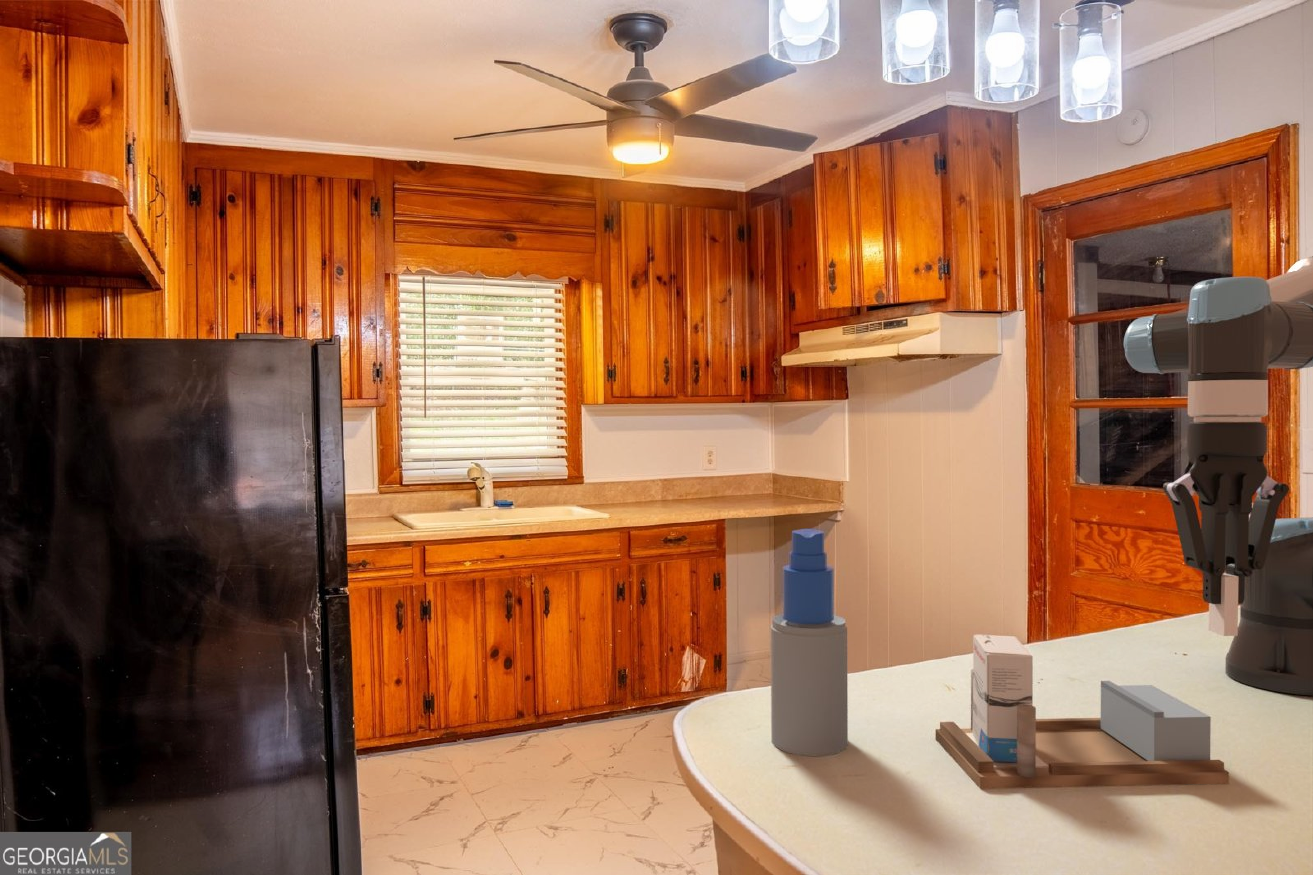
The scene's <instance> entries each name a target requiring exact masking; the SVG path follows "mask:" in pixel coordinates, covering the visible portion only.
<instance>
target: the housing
mask: <svg viewBox="0 0 1313 875" xmlns="http://www.w3.org/2000/svg"><path fill="white" fill-rule="evenodd" d="M1100 718H1101V729H1103V730H1104V731H1105V732H1107V733H1108V734H1110V735H1111V736H1113V737H1114V738H1116V739H1117V740H1119V741H1120V742H1121V743H1123V744H1124V745H1126V746H1127V747H1129V748H1130V749H1132V750H1133V751H1135V752H1136V753H1137V754H1139V755H1140V756H1142V757H1143V758H1145V759H1146V760H1148V761H1176V760H1211V729H1212V728H1211V724H1212V722H1211V721H1212V720H1211V718H1212V717H1211V716H1210V715H1208V714H1207V713H1205V712H1202V711H1201V710H1199V709H1197V708H1195V707H1193V706H1191V705H1189V704H1188V703H1186V702H1184V701H1182V700H1180V699H1178V698H1177V697H1175V696H1172V695H1171V694H1169V693H1167V692H1165V691H1163V690H1162V689H1160V688H1157V687H1156V686H1154V685H1153V684H1133V685H1130V684H1129V685H1125V684H1124V685H1118V684H1115V683H1114V682H1112V681H1110V680H1100Z"/></svg>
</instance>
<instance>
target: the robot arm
mask: <svg viewBox="0 0 1313 875" xmlns="http://www.w3.org/2000/svg"><path fill="white" fill-rule="evenodd" d="M1123 348H1124V353H1125V354H1124V355H1125V359H1126V360H1127V362H1128V364H1129V366H1131V368H1133V369H1134V370H1135V371H1137V372H1140V373H1142V374H1143V373H1144V374H1147V373H1148V374H1160V375H1165V374H1169V373H1185V372H1187V373H1188V375H1187V381H1188V382H1187V415H1188V417H1190V418H1191V417H1192V418H1193V421H1191V422H1188V424H1186V453H1187V456H1188V462H1187V463H1186V465H1185V467H1184V470H1183V475H1182V476H1181V477H1179V478H1178V479H1176V480H1175V481H1173V482H1172V481H1171V482H1169V481H1167V482H1165V483H1163V486H1162V491H1163V492H1164V494H1165V495H1166V497H1167V498H1168V500H1169V501H1170V503H1171V507H1172V512H1173V516H1174V520H1175V525H1176V529H1177V534H1178V537H1179V542H1180V546H1181V547H1180V548H1181V551H1182V555H1183V559H1184V563H1185V565H1186V566H1187V567H1190V568H1193V569H1196V570H1198V571H1199V572H1201V573H1202V574H1201V575H1202V599H1203V601H1204V602H1205V603H1208V631H1210V632H1211V633H1216V634H1219V635H1221V636H1223V637H1233V639H1232V641H1231V644H1230V646H1229V649H1228V652H1227V653H1226V656H1225V668H1224V669H1225V673H1226V675H1227V676H1229V678H1231V679H1233V680H1235V681H1237V682H1240V683H1243V684H1245V685H1248V686H1252V687H1254V688H1255V687H1256V688H1260V689H1263V690H1264V689H1265V690H1269V691H1272V692H1279V693H1284V694H1285V693H1286V694H1293V695H1300V696H1301V695H1302V696H1312V697H1313V517H1292V518H1291V517H1290V518H1289V517H1288V518H1287V517H1286V518H1277V516H1278V512H1279V509H1280V505H1281V503H1283V500H1284V499H1285V497H1286V496H1287V495H1288V493H1289V490H1290V486H1289V485H1288V484H1286V483H1282V482H1277V481H1276V480H1274V479H1273V478H1271V477H1270V476H1268V469H1267V466H1266V464H1265V462H1264V458H1265V455H1266V454H1267V452H1268V451H1267V450H1268V425H1266V422H1262V418H1265V417H1267V416H1268V415H1269V378H1268V376H1269V369H1284V370H1302V369H1309V368H1313V255H1312V256H1309V257H1307V258H1304V259H1301V260H1299V261H1297V262H1295V264H1293V265H1292V266H1291V267H1290V268H1289V269H1288V270H1287V271H1286V273H1283V274H1280V275H1277V276H1275V277H1271V278H1268V279H1265V278H1263V277H1259V276H1232V277H1231V276H1230V277H1229V276H1228V277H1220V278H1212V279H1207V280H1206V279H1205V280H1201V281H1199V282H1197V283H1195V284H1194V286H1192V288H1191V290H1190V294H1189V302H1188V307H1187V308H1184V309H1181V310H1180V309H1179V310H1178V311H1174V312H1170V313H1164V314H1159V313H1154V314H1152V315H1148V316H1141V317H1138V318H1136V319H1134V320H1133V321H1132V322H1131V323H1130V324H1129V325H1128V327H1127V329H1126V331H1125V334H1124V338H1123ZM1195 494H1196V495H1197V496H1198V509H1199V511H1200V513H1201V514H1200V518H1201V520H1200V519H1199V515H1198V509H1197V504H1196V502H1195V500H1194V498H1193V496H1194V495H1195ZM1255 494H1256V496H1255ZM1254 496H1255V498H1254V501H1253V497H1254ZM1239 605H1240V608H1239ZM1239 609H1240V610H1239ZM1239 611H1240V612H1239ZM1238 615H1240V617H1239V616H1238ZM1239 618H1240V619H1239ZM1238 622H1239V623H1238Z"/></svg>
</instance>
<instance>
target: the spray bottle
mask: <svg viewBox="0 0 1313 875" xmlns="http://www.w3.org/2000/svg"><path fill="white" fill-rule="evenodd" d="M788 554H789V563H788V564H787V565H784V566H783V567H782V613H780V614H776V615H775V616H773V617H772V624H771V625H770V691H771V692H770V696H771V698H770V706H771V707H770V708H771V710H770V711H771V712H770V713H771V714H770V716H771V717H770V718H771V720H770V721H771V743H772V744H773V746H774V747H776V748H777V749H779V750H780V751H783V752H785V753H790V754H793V755H798V756H799V755H800V756H806V757H807V756H809V757H823V756H830V755H835V754H839V753H840V752H843V751H845V750H846V749H847V747H849V745H848V744H849V743H848V738H849V737H848V735H849V734H848V731H849V730H848V729H849V728H848V724H849V723H848V722H849V721H848V720H849V719H848V718H849V717H848V716H849V715H848V714H849V713H848V712H849V711H848V710H849V709H848V706H849V705H848V703H849V702H848V701H849V700H848V627H847V626H846V619H845V618H843V617H842V616H839V615H836V614H835V611H834V609H835V607H834V606H835V605H834V604H835V600H834V599H835V598H834V597H835V593H834V592H835V591H834V590H835V588H834V587H835V585H834V584H835V583H834V582H835V581H834V580H835V579H834V576H835V575H834V574H835V573H834V571H835V569H834V567H833V566H831V565H830V566H829V565H828V561H827V560H828V558H827V557H828V556H827V554H828V553H827V552H826V551H825V531H823V530H819V529H815V528H801V529H796V530H792V531H791V551H789V553H788Z"/></svg>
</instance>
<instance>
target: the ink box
mask: <svg viewBox="0 0 1313 875" xmlns="http://www.w3.org/2000/svg"><path fill="white" fill-rule="evenodd" d="M972 641H973V645H972V646H973V649H972V650H973V651H972V652H973V654H972V655H973V661H972V663H973V664H972V666H973V667H972V669H973V736H974V738H975V740H976V741H977V743H978V745H979V747H980V748H981V749H982V750H983V751H984V752H985V753H986V754H987V755H988V756H989V757H990V758H991V759H992V760H993V761H997V762H1017V706H1018V705H1022V704H1025V705H1031V706H1034V705H1033V704H1034V702H1033V694H1034V693H1033V692H1034V691H1033V687H1034V685H1033V682H1034V681H1033V680H1034V679H1033V678H1034V676H1033V674H1034V673H1033V672H1034V671H1033V668H1034V667H1033V666H1034V665H1033V663H1034V662H1033V657H1034V656H1033V655H1032V654H1031V653H1030V652H1029V650H1028V649H1027V648H1026V647H1025V646H1024V645H1023V644H1022V642H1021V641H1020V640H1019V639H1018V637H1016V636H1014V635H1013V636H1012V635H1011V636H1010V635H994V634H993V635H992V634H974V635H973V640H972Z"/></svg>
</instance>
